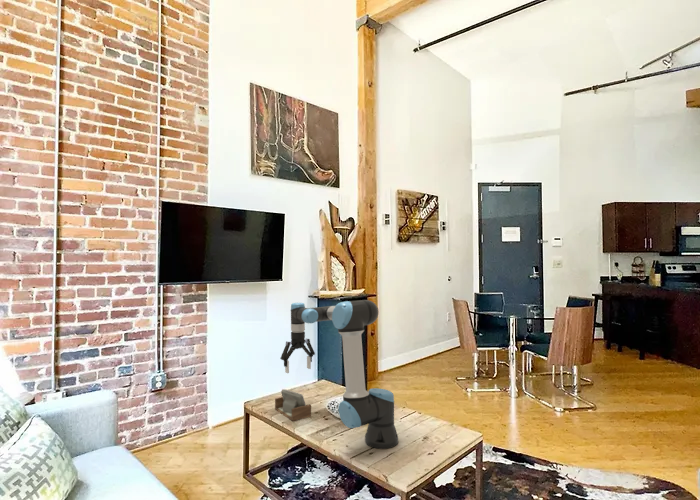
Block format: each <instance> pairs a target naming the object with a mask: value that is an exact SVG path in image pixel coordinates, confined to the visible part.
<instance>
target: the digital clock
mask: <svg viewBox="0 0 700 500" xmlns="http://www.w3.org/2000/svg"><path fill="white" fill-rule="evenodd" d="M281 395H282V396H281V397H283V400H284V402H283V411H285V412H288V413H291V414H292V409H293V408H297V407H301V406H305V405H307V404H306V401H305V399H304V396H303V394H302V393H299V392H296V391H293V390H288V389H285V388H284V389H283V388H282V389H281Z"/></svg>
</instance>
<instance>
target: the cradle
mask: <svg viewBox="0 0 700 500" xmlns="http://www.w3.org/2000/svg"><path fill="white" fill-rule="evenodd" d="M283 402H284V400H283V396H281V397H276V398H275V399H274V410H275V411H276V410H277V411H276V412H278V413H279V412H280V413H279V414H281V415H282V414H283V416H284V417H286V418H287V419H288V420H290V421H291V422H295V421H299V420H303V419H307V418H310V417H312V404H309V403H308V404H306V405H305V406H301V407H297V408H293V409H292V414H291V413H288V412H285V411H283Z"/></svg>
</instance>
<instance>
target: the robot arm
mask: <svg viewBox="0 0 700 500" xmlns="http://www.w3.org/2000/svg"><path fill="white" fill-rule="evenodd" d="M290 305H291V306H290V331H291V332H290V339H291V340H290V341H285V345H284V346H285V347H284V349H283V351H282V353H281V356H280V360H281V361H283V367H284V368H285V369H284V371H285V372H284V373H285V374H289V373H290V361H289V359H290V357H291V355H292V354H293V353H294V351H295V350H300V349H302V350H303V351H304V352H305V353H306V355H307V356H306V368H307V369H308V370H311V367H312V362H313V359H312V358H313V357H314V356H315V355H316V352H315V350H314V348H313V346H312V344H311V339H310V338H306V332H305V330H306V326H305V325H306V324H315V323H317V322H323V321H324V322H326V321H332V324H333V327H334V328H335V329H338V330H337V331H338V334H339V335H341V339H342V354H343V365H344V368H343V369H344V379H345V392H344V393H343V394H342V399H343V400H341V401H340V402H339V404H338V406H337V407H338V411H337V412H338V415H339V419H340V420H341V422H342V424H343V425H345V427H347V428H349V429H355V428H360V427H362V426H366V425H368V426H367V428H366V432H365V435H364V442H365V444H366V445H367V446H369V447H371V448H374V449H379V450H380V449H381V450H383V449H391V448H394V447H395V446H397V445H398V443H399V435H398V433H397V430H396V426H395V397H394V393H393V392H392V391H391V390H388V389H385V388H377V387H376V388H369V389H368V390H367V389H366V380H365V366H364V355H363V354H364V353H363V343H362V342H363V340H362V334H363V333H364V332H365V326H369V325H371V324H374V323H375V322H376V321H377V320H378V317H379V313H380V312H379V308H378V305H377V304H376V303H375V302H374V301H372V300H368V299H362V300H361V299H360V300H349V301H348V300H345V301H341V302H338V303H337V304H336V305H328V306H319V307H318V306H317V307H315V306H314V307H306V305H305V303H304V302H292V303H291V304H290ZM305 344H306V345H307V346H306V345H305Z"/></svg>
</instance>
